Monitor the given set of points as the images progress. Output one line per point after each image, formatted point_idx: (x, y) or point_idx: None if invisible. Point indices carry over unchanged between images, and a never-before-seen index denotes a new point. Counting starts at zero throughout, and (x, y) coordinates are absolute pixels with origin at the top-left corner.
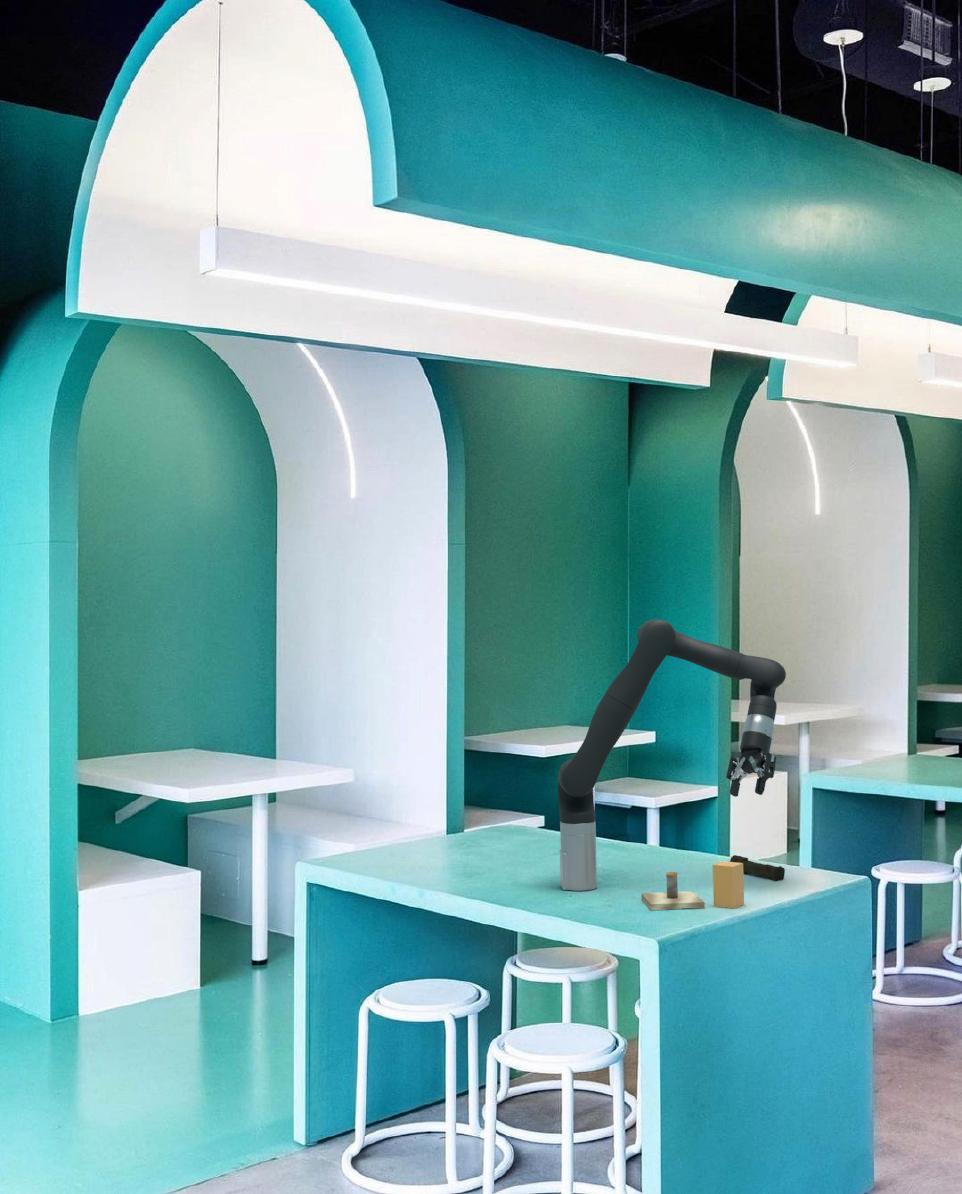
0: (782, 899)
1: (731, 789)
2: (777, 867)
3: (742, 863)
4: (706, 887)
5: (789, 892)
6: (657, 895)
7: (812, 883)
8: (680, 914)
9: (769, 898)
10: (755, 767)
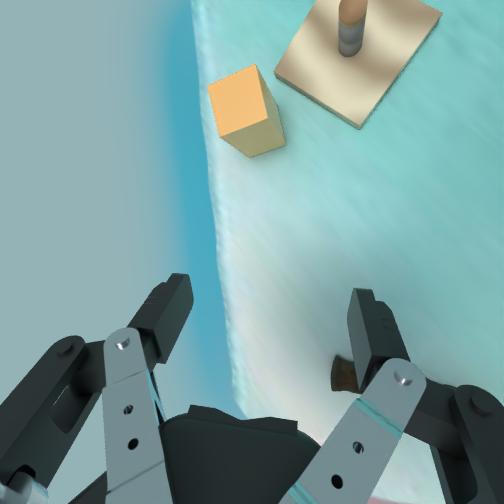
0: (232, 236)
1: (370, 304)
2: (334, 375)
3: (219, 134)
4: (406, 223)
5: (257, 289)
6: (391, 29)
7: (275, 375)
8: (276, 6)
9: (251, 228)
10: (124, 394)
